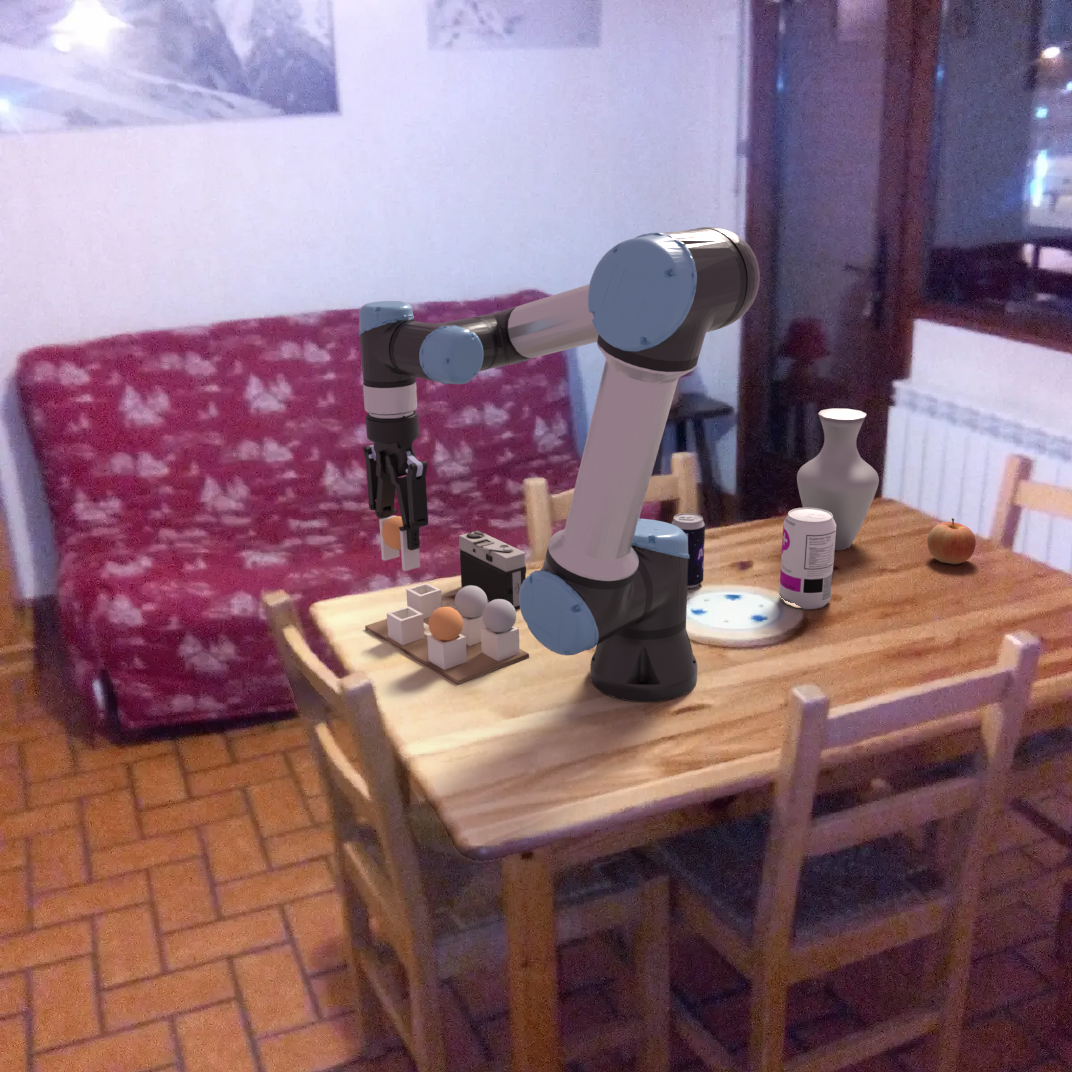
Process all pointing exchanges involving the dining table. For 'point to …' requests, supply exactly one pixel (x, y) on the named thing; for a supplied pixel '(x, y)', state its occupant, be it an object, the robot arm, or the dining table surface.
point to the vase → (839, 475)
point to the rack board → (458, 674)
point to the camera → (492, 566)
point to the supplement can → (807, 557)
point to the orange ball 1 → (392, 532)
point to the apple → (951, 542)
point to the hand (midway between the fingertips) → (400, 562)
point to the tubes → (448, 654)
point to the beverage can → (693, 545)
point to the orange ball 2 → (445, 623)
